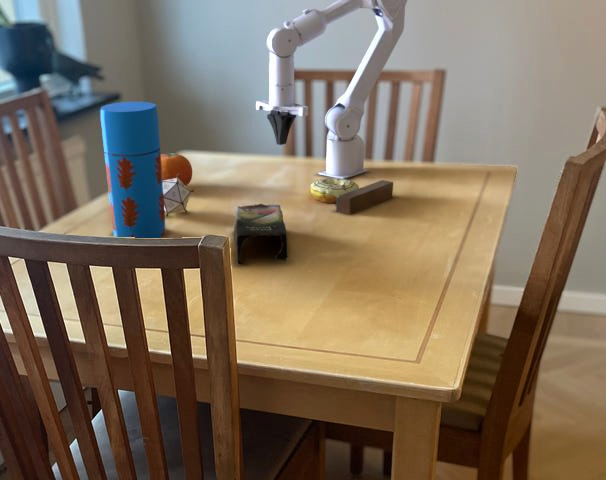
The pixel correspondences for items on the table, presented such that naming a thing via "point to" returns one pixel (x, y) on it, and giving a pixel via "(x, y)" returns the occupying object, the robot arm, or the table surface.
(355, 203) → the bar
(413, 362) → the table surface
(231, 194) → the table surface
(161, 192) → the thermos
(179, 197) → the game die
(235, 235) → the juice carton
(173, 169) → the fruit
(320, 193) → the decorated donut
